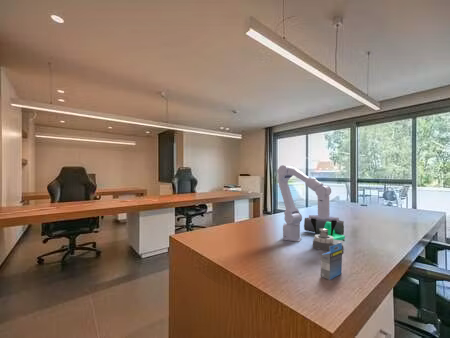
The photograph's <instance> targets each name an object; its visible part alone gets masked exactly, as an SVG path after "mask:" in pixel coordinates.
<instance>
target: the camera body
mask: <svg viewBox="0 0 450 338" xmlns="http://www.w3.org/2000/svg"><path fill="white" fill-rule="evenodd" d="M339 243H342V254H343V253H344V240H343V239H342V240H334V239H333V237H332V236H329V235H328V238H320V234H315V235H314V238H313V240H312V249H315V250H322V251H327V252H329V251H330V248H329V246H333V245H336V244H339ZM336 249H338V247H336V248H334V250H336Z"/></svg>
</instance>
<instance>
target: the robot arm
mask: <svg viewBox="0 0 450 338" xmlns="http://www.w3.org/2000/svg"><path fill="white" fill-rule="evenodd" d="M276 173H277V183H278V186H279V190H280V193H281V197H282V201H283V204H284V206H285V207H284V208H285V210H284V213H283V214H284V221H285V223H283V225H282V240H284V241H291V242H301V240H302V237H301V232H300V231H301V222H302V220H303V216H302V214H301V213H300V210H299V209H298V208H297V207H296V205H295V202H294V199H293V195H292V192H291V189H290V186H289V180H290V179H291V178H292V177H293V176H294V177H295V178H297V179H299V180H301V181H302V182H304V183H305V186H306V187H307V188H309V189H310V190H312V191H313V192H314V193H315V194H316V196H317V215H316V214H309V215H308V218H309V219H311V223H312V225H313V227H314V230H315V232H314V234H315V233H317V226H316V225H317V220H326V221H331V235H333V230H334V227H335V225H336V223H337V222H339V220H340V217H336V216H332V215H330V195H331V193H332V189H331V187H330V186H329V185H327V184H324V182H320V181H318V180H317V178H316V177H312V176H310V177H309V176H307V175H306V174H305V173H303V172H302V171H301V170H299V169H298V168H297V167H295V166H294V165H280V166H279V167H278V169H277V172H276Z"/></svg>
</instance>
